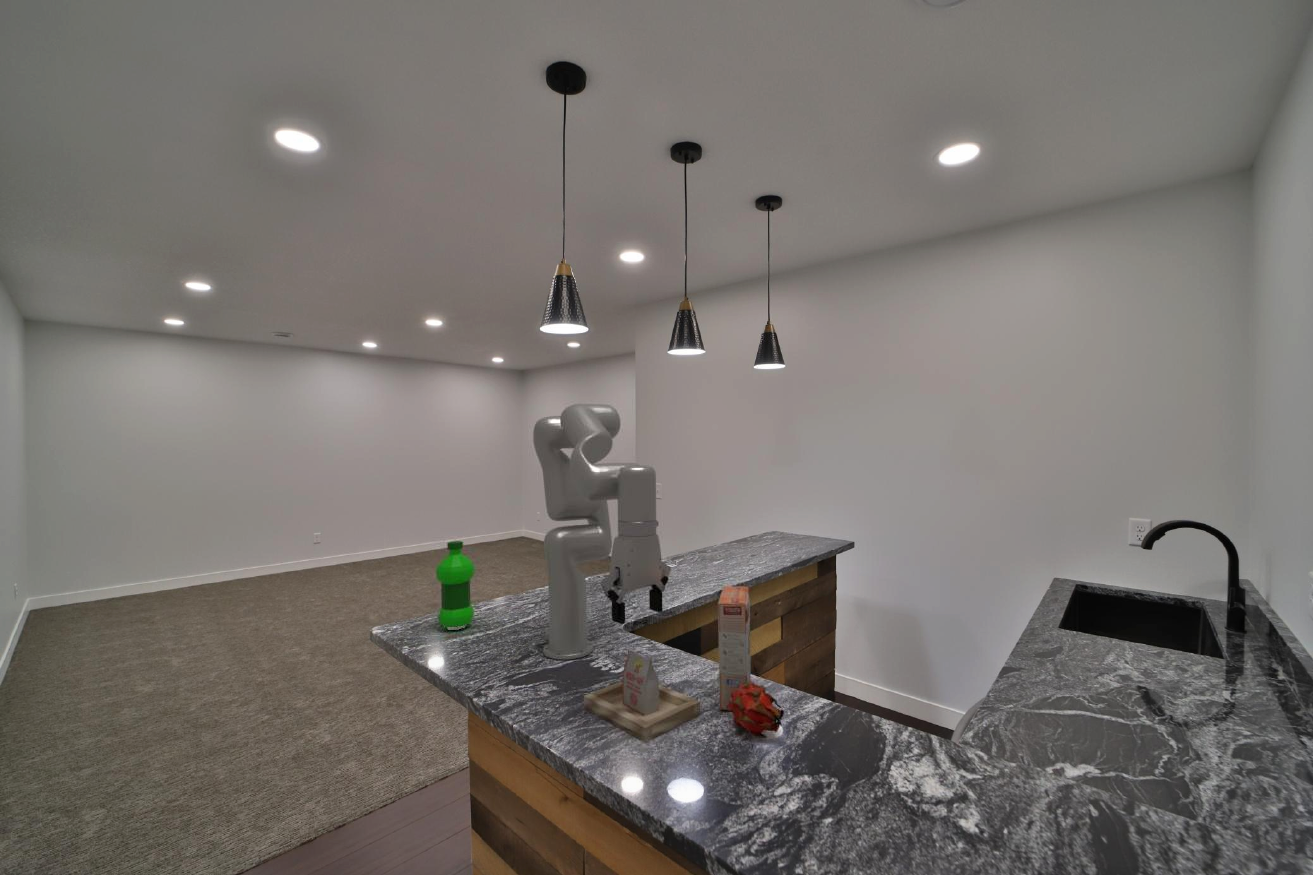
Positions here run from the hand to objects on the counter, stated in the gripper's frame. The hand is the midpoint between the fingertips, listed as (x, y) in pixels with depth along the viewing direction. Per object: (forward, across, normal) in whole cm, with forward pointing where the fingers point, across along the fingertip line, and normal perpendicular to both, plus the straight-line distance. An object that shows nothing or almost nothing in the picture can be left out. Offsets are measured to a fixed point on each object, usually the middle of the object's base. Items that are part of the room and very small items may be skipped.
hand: (637, 616), depth 109 cm
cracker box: (+18, -18, +10) cm, 27 cm away
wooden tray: (+18, 0, +1) cm, 18 cm away
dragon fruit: (+18, -10, +21) cm, 29 cm away
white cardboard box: (+18, 0, +1) cm, 18 cm away
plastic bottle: (+21, +3, -77) cm, 80 cm away
